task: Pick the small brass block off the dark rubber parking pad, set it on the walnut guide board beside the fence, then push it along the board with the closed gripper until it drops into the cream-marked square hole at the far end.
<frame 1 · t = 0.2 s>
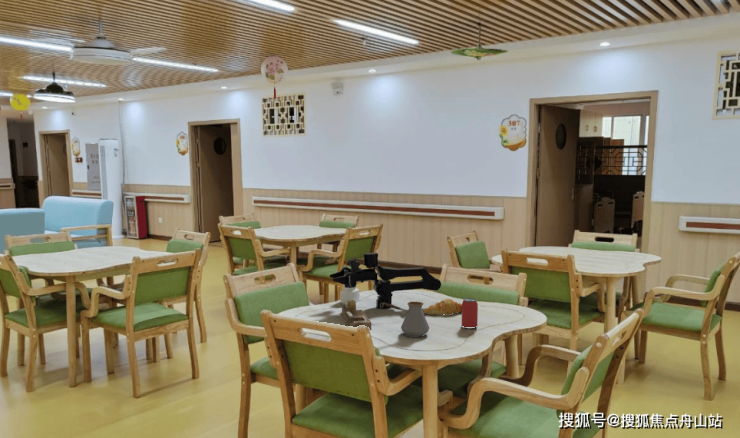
hand: (331, 277, 258), 16 cm above the table, tool horizontal, fingers open, 9 cm apart
beer can: (469, 327, 237), on the table
croissant: (445, 313, 259), on the table
parking pad: (350, 313, 258), on the table
brass clip block: (350, 311, 258), point 1 cm above the table, touching parking pad
guide board: (356, 323, 243), on the table
coffee pot: (404, 336, 225), on the table
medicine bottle: (350, 304, 276), on the table
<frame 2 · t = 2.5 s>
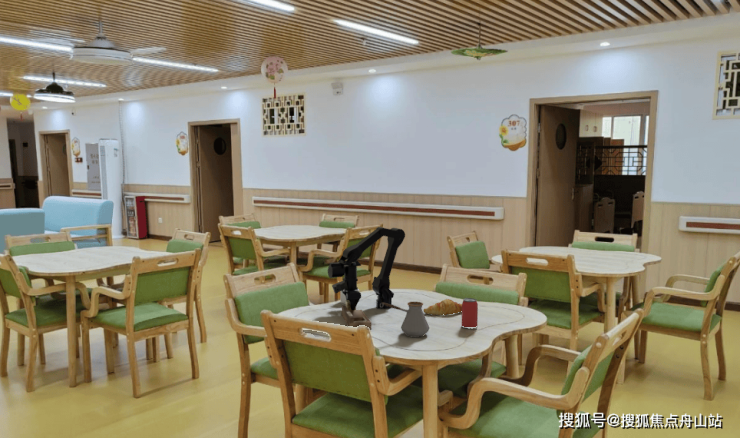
hand: (350, 309, 258), 2 cm above the table, tool pointing down, fingers open, 8 cm apart
nothing on the table moved.
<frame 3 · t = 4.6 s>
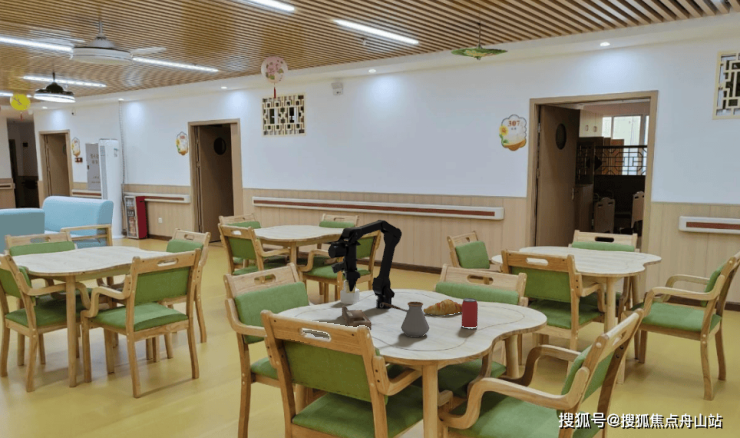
hand: (350, 290, 252), 12 cm above the table, tool pointing down, fingers closed on brass clip block, 4 cm apart
brass clip block: (350, 292, 252), point 11 cm above the table, touching gripper
everything else where it was.
when the fingers open (5 cm above the table, at t = 6.2 s): brass clip block stays where it is, resting on guide board.
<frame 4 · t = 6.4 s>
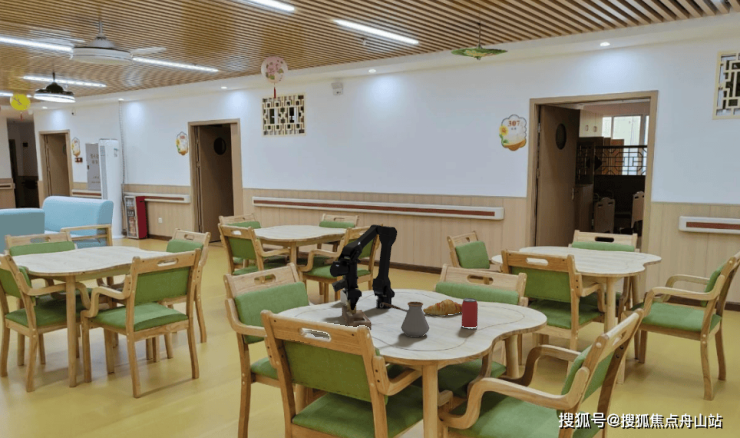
hand: (351, 308, 249), 5 cm above the table, tool pointing down, fingers open, 6 cm apart
brass clip block: (351, 312, 250), point 3 cm above the table, touching guide board
everything else where it was.
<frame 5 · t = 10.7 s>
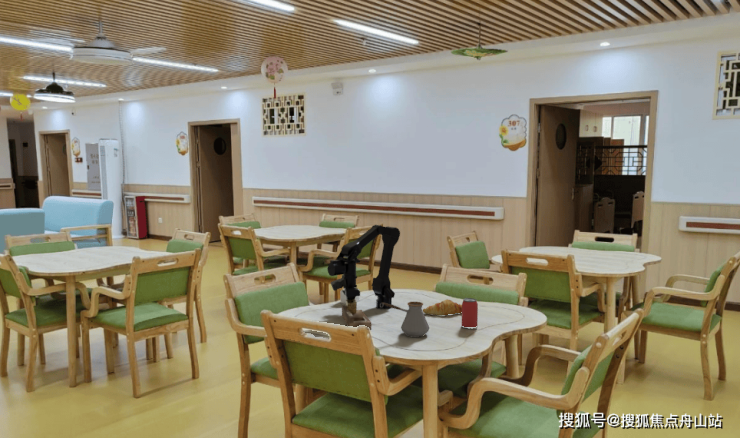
hand: (349, 307, 253), 5 cm above the table, tool pointing down, fingers closed
brass clip block: (351, 311, 249), point 3 cm above the table, tilted 8°, touching gripper, guide board
everything else where it was.
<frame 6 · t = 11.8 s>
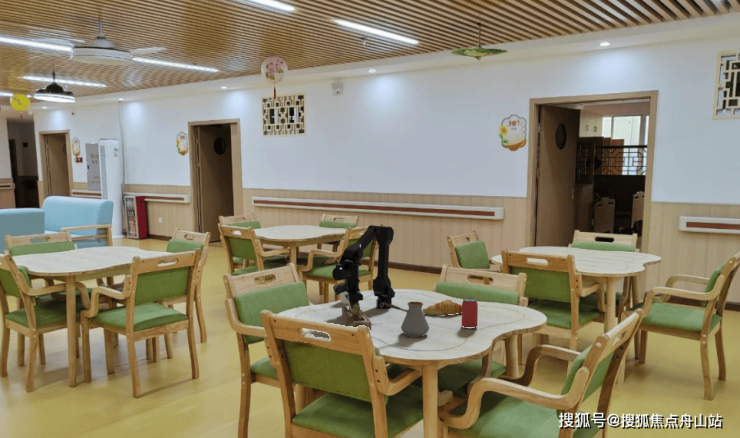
hand: (352, 311, 246), 4 cm above the table, tool pointing down, fingers closed
brass clip block: (353, 313, 244), point 4 cm above the table, tilted 27°, touching gripper
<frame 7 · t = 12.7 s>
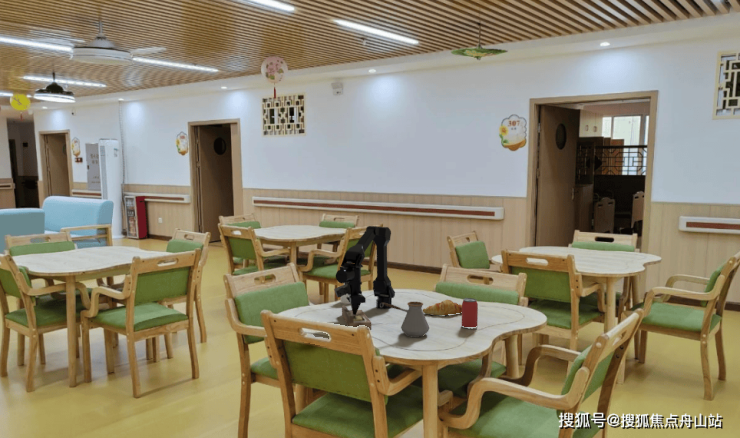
hand: (354, 314, 242), 4 cm above the table, tool pointing down, fingers closed
brass clip block: (355, 320, 241), point 2 cm above the table, tilted 90°
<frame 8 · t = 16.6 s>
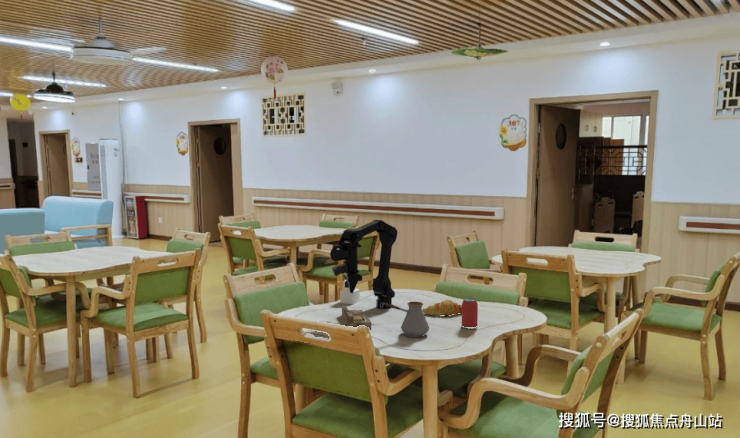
hand: (351, 293, 248), 12 cm above the table, tool pointing down, fingers closed
at the end: brass clip block 2.9 cm from the target spot on the guide board, point 1.8 cm above the guide board's base; the gripper is holding nothing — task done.
